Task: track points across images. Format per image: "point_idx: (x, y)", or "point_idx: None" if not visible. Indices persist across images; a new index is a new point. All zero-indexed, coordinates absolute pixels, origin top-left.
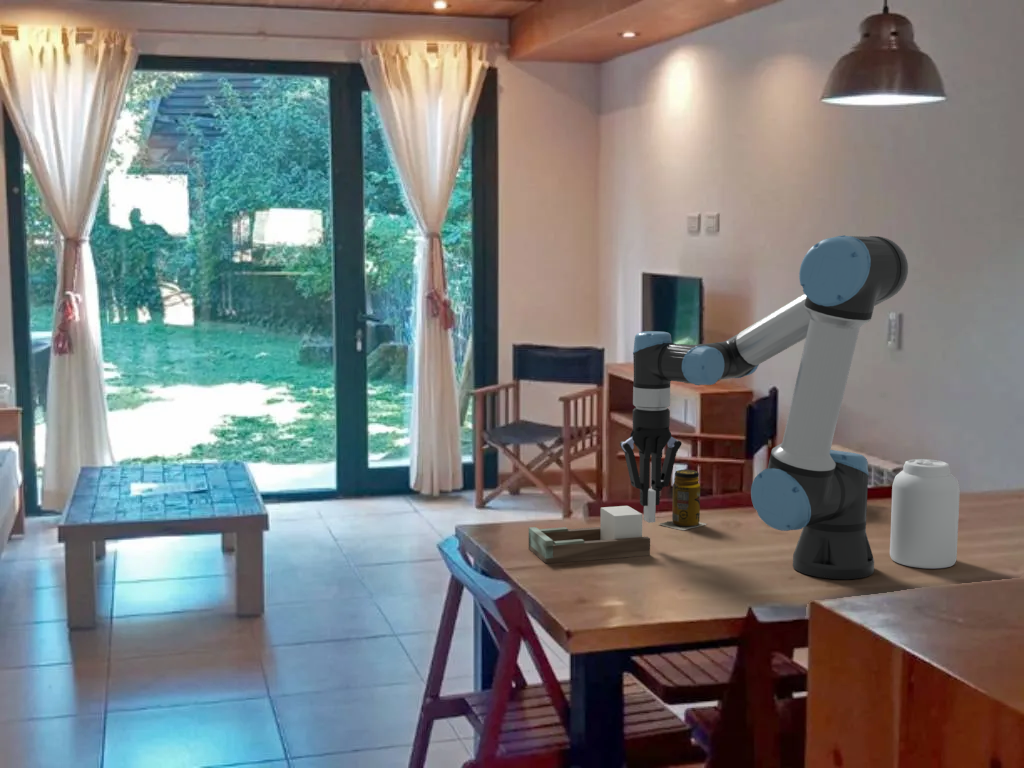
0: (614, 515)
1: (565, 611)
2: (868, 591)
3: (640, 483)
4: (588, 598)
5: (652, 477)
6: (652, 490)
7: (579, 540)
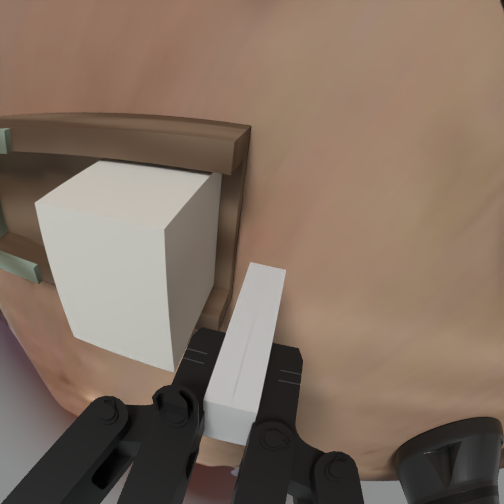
0: (74, 331)
1: (52, 385)
2: (390, 478)
3: (133, 459)
4: (71, 380)
5: (233, 501)
6: (234, 436)
7: (29, 276)
